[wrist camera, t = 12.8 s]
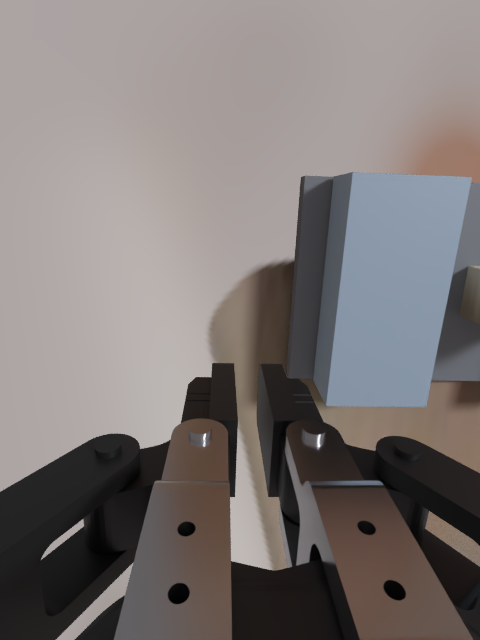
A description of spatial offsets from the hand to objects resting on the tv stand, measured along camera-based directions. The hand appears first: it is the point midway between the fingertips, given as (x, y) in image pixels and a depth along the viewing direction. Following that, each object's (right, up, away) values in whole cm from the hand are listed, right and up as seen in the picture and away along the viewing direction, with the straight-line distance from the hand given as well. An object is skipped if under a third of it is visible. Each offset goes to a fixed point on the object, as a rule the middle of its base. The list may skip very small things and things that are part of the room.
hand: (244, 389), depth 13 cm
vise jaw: (+10, +5, +17) cm, 20 cm away
